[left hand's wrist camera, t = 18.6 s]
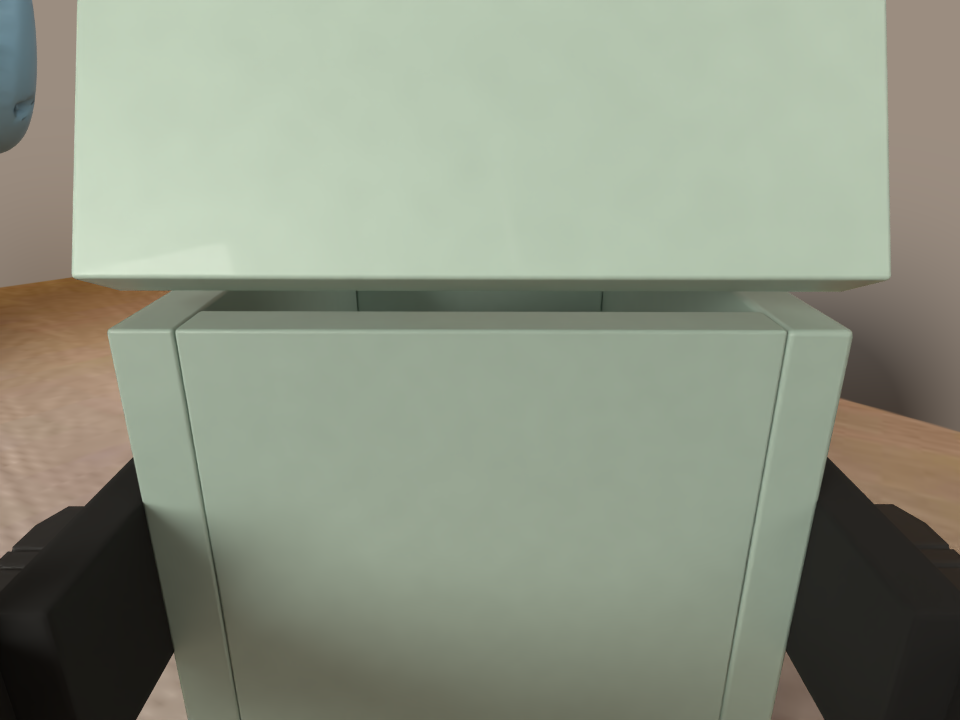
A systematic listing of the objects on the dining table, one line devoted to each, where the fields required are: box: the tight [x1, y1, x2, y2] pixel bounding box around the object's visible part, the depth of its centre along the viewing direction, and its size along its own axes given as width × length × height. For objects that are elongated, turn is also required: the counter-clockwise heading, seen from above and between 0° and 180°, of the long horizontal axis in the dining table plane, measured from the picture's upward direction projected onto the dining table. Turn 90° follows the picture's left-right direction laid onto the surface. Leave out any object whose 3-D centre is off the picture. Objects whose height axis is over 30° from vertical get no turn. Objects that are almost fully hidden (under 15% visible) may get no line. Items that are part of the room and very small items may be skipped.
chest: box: [107, 290, 853, 720], centre depth 16 cm, size 13×10×11 cm
